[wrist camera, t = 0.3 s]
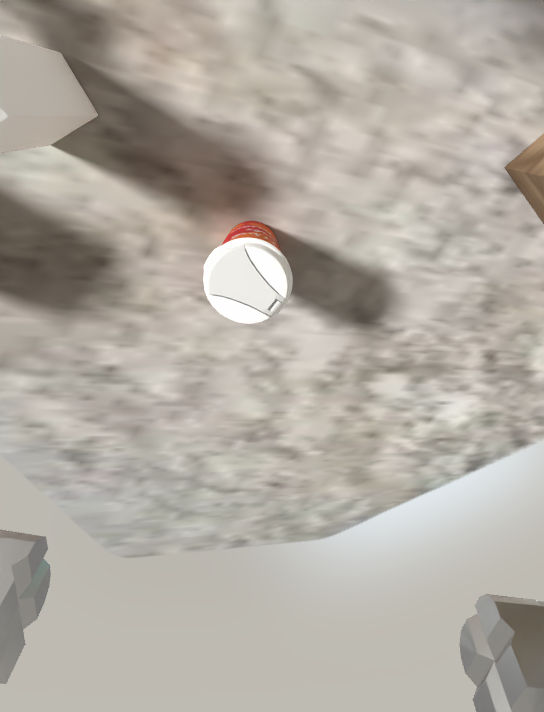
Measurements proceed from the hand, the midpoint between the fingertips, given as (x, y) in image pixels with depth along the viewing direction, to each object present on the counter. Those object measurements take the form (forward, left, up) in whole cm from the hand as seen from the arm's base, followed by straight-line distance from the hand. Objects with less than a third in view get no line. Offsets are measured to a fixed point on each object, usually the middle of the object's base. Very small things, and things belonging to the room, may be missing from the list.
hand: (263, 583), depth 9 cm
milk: (-7, -21, -48) cm, 52 cm away
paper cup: (+5, -1, -48) cm, 48 cm away
